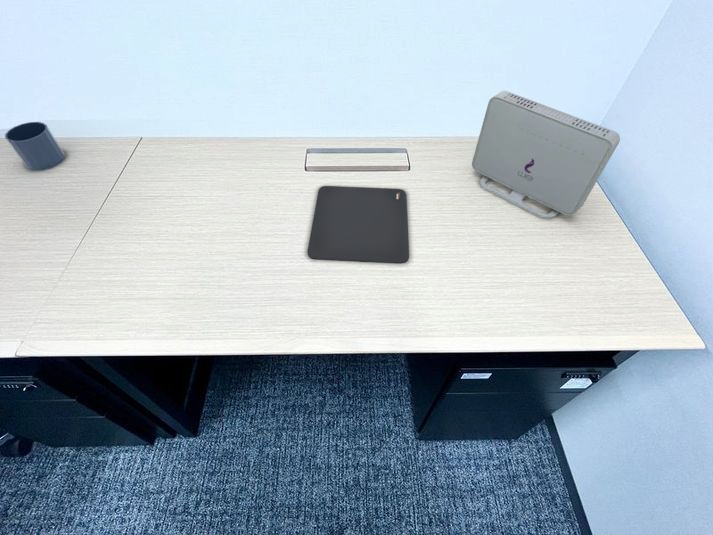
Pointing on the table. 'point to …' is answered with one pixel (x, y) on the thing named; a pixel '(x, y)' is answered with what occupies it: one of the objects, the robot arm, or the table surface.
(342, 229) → the mouse pad
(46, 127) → the cup
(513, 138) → the network device
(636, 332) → the table surface
